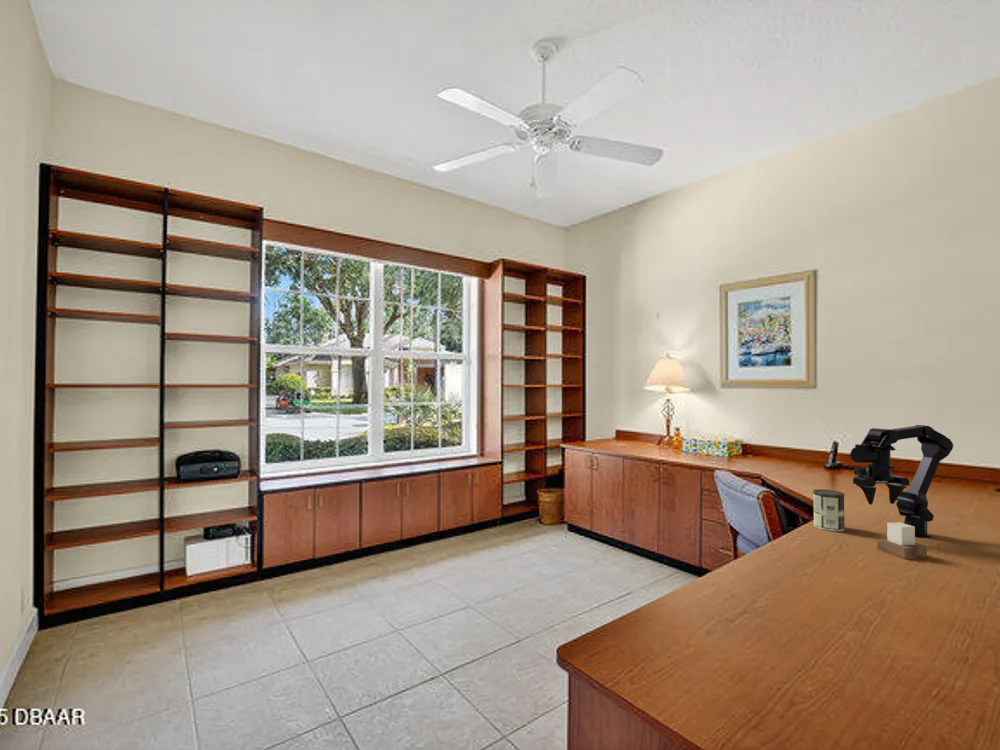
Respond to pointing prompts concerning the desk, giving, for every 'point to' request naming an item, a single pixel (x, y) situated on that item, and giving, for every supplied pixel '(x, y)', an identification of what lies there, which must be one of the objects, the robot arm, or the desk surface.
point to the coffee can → (829, 510)
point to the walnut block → (902, 549)
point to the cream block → (901, 533)
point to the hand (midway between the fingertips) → (881, 504)
